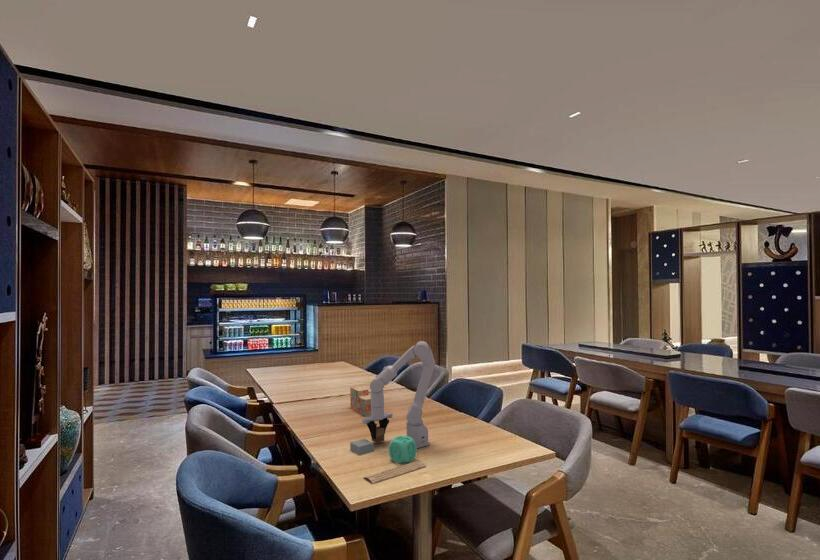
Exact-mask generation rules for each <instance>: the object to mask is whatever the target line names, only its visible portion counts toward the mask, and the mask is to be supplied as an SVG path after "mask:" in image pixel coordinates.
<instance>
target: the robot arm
mask: <svg viewBox="0 0 820 560" xmlns="http://www.w3.org/2000/svg"><path fill="white" fill-rule="evenodd" d="M416 358H418V359H419V360H420V361H421V363H422V364H423V368H422V372H421V376H420V377H419V378H420V379H419V381H418V385H417V388H416V391H415V395H414V397H413V401H412V404H411V405H410V406H409V408H408V410H407V414H406V436H409V437H411V438H412V439H413V440H414V441H415V443H416V446H417V449H419V448H422V447H423V448H424V447H426V446H429V445H431V444H430V442H429V429H428V427H427V426H425V424H424V420H423V419H422V415H423V406H424V402H425V398H426V396H427V392H428V388H429V385H430V382H431V379H432V376H433V372H434V369H435V365H436V361H435V357H434V355H433V351H432V348H431V346H430V345H429V343H428V342H426V341H425V340H419V341H417V343H415V345H412V346H411V347H410V348H408V349H407V350H406V351H405V352H404V353H403V354H402V355H401V356H400V357H398V359H397V360H396V361H395V362H394V363H393V364H392V365H387V366H384V367H383V368H382V371H380V373H378V374H376V375H375V378H374V379H372V380H371V382H370V384H369V389H370V396H371V416H367V417H364V418H362V421H361V422H362V424H363V425H366V426H367V428H368V430H369V432H370V437H371V440H372V439H375V438H376V427H377V426H380V427H383V428H384V436H385V434H386V429H387V427H388V425H389V423H390V419H393V413H392V412H385V394H384V388H385V386H387V385H389V383H390V382H391V381H392V380H393V379H395V378H396V377H397V375H398V371H399V370H400V369H401V368H402V367H403V366H404V365H406V363H407V362H408V361H410V360H414V359H416ZM376 422H378V424H377V423H376Z"/></svg>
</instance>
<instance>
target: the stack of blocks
mask: <svg viewBox="0 0 820 560" xmlns="http://www.w3.org/2000/svg"><path fill="white" fill-rule="evenodd" d="M349 392H350V395H349V396H350V409H351V410H352V411H354V412H356V413H358V415H361V416H363V417H364V418H367V417H369V416H371V395H369V389H368V388H365V387H363V386H361V385H359V386H351V387H350V391H349Z"/></svg>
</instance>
